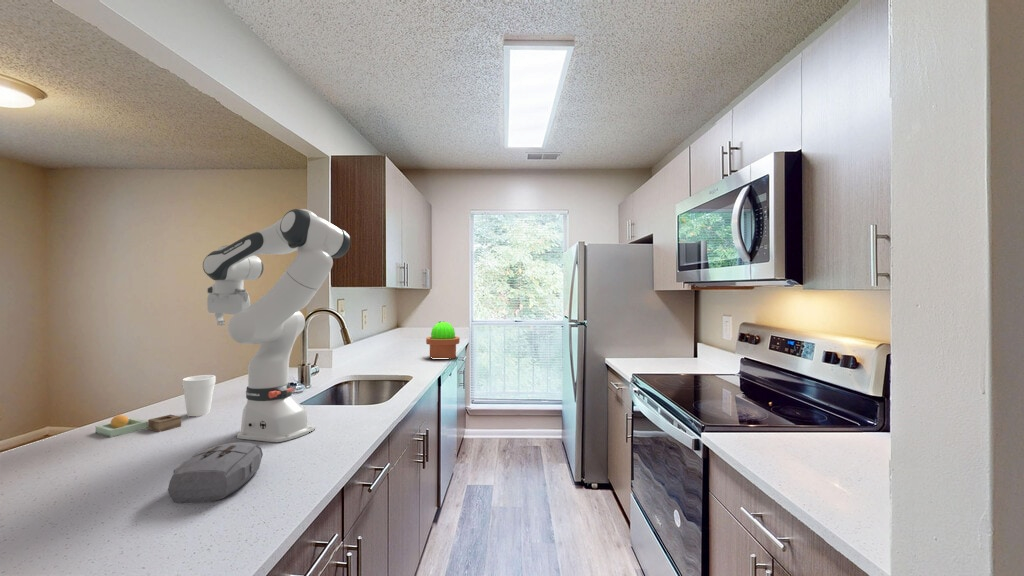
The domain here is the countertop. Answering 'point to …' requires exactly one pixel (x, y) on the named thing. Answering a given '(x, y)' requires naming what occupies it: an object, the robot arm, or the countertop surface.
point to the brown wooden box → (164, 423)
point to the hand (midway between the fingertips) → (228, 325)
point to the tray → (122, 428)
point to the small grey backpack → (214, 473)
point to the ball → (119, 421)
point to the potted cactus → (442, 341)
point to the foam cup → (198, 394)
